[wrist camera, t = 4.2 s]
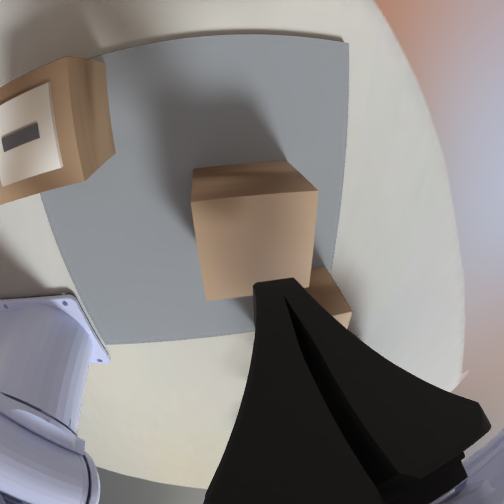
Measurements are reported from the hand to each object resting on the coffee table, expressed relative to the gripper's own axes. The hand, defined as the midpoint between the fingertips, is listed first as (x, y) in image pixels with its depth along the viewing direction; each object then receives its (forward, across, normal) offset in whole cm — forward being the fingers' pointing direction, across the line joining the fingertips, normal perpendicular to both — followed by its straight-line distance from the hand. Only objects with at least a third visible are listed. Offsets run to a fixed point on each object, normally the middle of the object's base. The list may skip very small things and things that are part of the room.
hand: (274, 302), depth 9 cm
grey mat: (+8, +3, 0) cm, 9 cm away
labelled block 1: (+8, +9, -6) cm, 13 cm away
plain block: (+8, 0, 0) cm, 8 cm away
